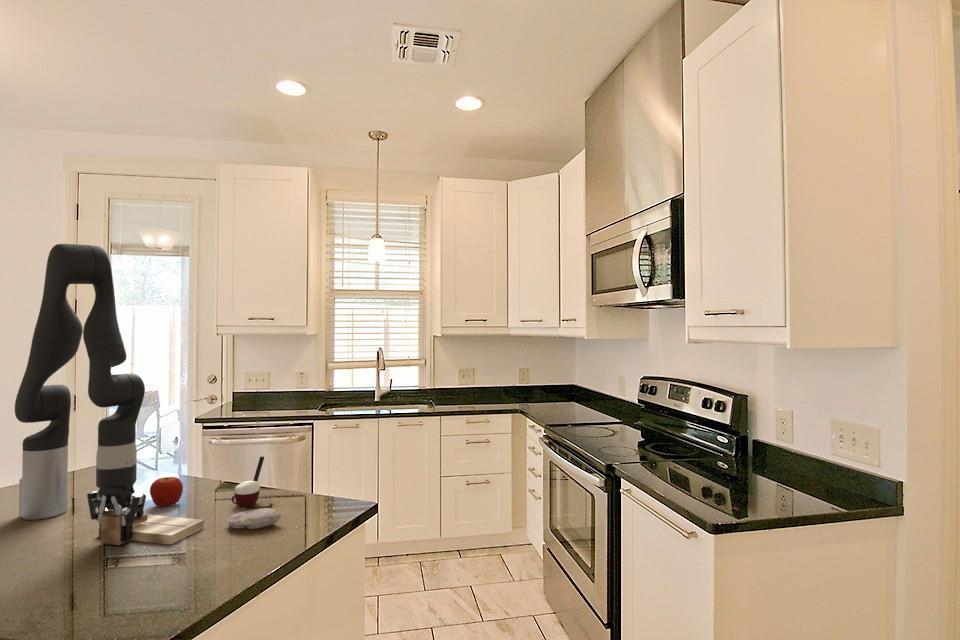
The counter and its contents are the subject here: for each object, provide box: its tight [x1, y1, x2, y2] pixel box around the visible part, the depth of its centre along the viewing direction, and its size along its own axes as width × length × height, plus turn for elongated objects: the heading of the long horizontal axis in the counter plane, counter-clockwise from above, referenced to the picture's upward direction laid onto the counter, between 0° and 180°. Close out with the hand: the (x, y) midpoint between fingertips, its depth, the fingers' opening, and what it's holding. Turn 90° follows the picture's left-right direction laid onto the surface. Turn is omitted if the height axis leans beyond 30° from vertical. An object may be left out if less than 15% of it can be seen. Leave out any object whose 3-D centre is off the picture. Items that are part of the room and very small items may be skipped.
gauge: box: [100, 509, 148, 546], centre depth 123 cm, size 5×9×7 cm, turn 167°
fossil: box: [226, 507, 282, 530], centre depth 131 cm, size 12×4×10 cm
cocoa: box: [231, 455, 265, 507], centre depth 147 cm, size 10×6×12 cm, turn 127°
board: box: [97, 514, 205, 545], centre depth 127 cm, size 20×10×2 cm, turn 77°
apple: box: [149, 476, 184, 508], centre depth 146 cm, size 8×8×8 cm
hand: (116, 539), depth 120 cm, fingers closed on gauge, 5 cm apart
